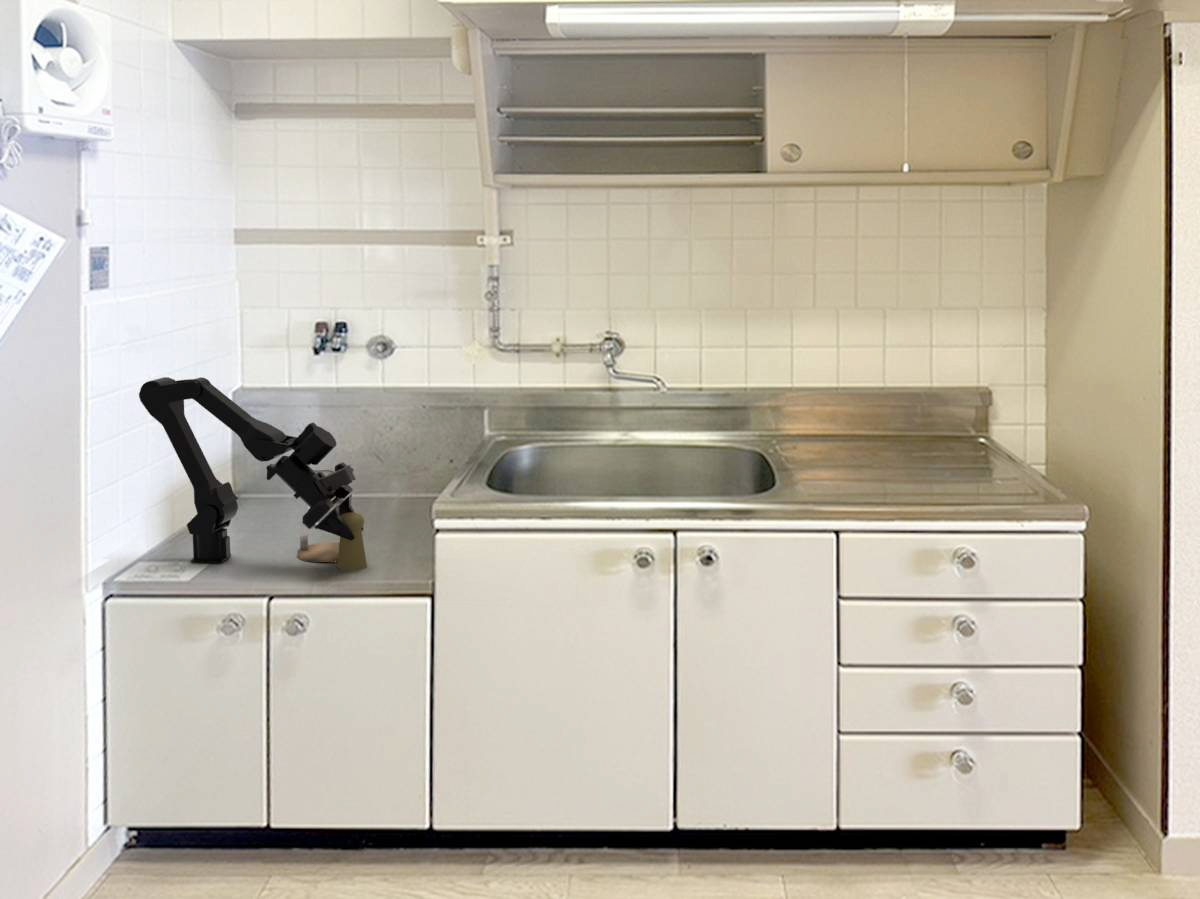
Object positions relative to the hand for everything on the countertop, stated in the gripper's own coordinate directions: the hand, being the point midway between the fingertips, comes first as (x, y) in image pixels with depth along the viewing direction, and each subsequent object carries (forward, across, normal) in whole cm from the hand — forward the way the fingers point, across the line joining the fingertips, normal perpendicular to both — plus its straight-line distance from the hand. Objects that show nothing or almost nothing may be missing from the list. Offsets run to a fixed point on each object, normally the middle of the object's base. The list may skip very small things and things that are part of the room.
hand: (357, 534), depth 288 cm
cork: (+4, 0, +6) cm, 7 cm away
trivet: (-1, +8, +11) cm, 14 cm away
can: (-7, +36, +17) cm, 41 cm away
